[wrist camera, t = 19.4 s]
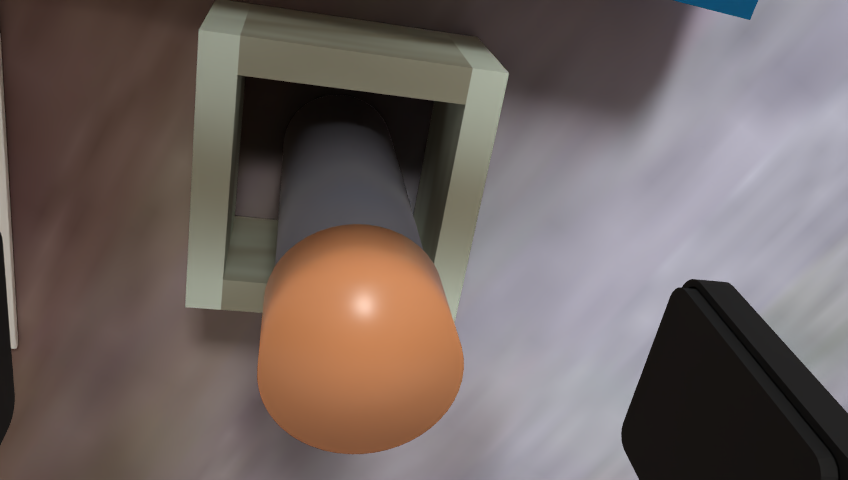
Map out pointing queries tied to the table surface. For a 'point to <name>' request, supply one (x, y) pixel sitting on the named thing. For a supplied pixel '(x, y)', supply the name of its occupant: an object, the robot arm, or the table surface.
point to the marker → (352, 293)
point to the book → (726, 6)
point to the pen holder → (347, 69)
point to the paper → (6, 219)
